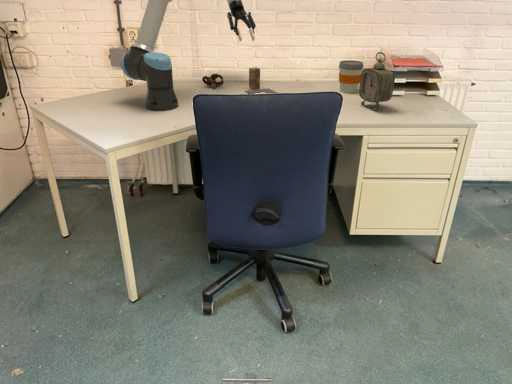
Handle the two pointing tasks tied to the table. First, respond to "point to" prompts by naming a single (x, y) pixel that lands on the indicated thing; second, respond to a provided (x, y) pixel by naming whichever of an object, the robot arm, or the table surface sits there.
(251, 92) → the rubber mat
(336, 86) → the table surface
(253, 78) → the walnut block
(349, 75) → the reusable coffee cup
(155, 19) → the robot arm
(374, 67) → the tabletop clock
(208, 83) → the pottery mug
